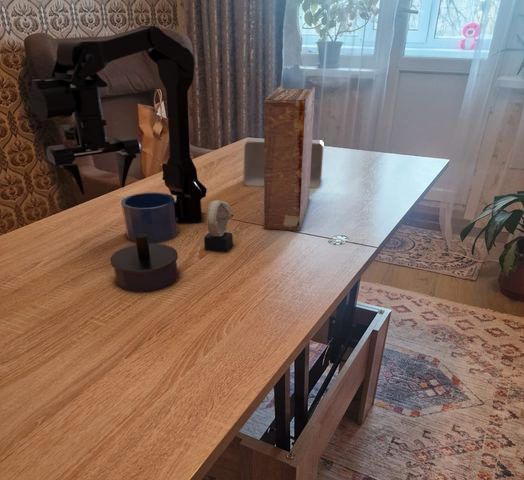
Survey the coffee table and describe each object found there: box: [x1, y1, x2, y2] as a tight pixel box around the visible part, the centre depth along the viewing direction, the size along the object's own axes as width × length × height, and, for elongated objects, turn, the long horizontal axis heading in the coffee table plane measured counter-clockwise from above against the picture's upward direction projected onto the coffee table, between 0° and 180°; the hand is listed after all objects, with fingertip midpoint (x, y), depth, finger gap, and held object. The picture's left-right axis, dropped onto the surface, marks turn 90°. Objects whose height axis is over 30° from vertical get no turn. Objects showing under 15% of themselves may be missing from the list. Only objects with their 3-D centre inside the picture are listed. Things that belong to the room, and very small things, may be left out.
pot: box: [120, 191, 179, 244], centre depth 120 cm, size 13×13×8 cm
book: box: [263, 85, 316, 232], centre depth 125 cm, size 25×9×30 cm, turn 170°
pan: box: [113, 260, 178, 293], centre depth 101 cm, size 13×13×4 cm
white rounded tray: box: [242, 137, 325, 189], centre depth 157 cm, size 25×16×12 cm, turn 83°
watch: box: [203, 199, 234, 253], centre depth 112 cm, size 6×8×11 cm
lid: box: [109, 233, 179, 273], centre depth 98 cm, size 14×14×6 cm
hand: (102, 190), depth 107 cm, fingers open, 9 cm apart
